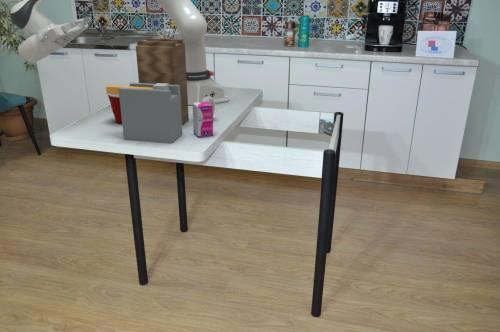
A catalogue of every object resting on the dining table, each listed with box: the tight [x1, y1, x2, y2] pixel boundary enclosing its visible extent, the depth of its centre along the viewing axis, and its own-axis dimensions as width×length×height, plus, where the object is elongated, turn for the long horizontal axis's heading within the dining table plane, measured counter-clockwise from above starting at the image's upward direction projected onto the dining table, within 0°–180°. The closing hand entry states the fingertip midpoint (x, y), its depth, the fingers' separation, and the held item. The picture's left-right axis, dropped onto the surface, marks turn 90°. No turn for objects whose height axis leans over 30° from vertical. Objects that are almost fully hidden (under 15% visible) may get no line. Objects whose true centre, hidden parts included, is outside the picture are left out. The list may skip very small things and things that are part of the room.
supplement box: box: [192, 102, 214, 139], centre depth 170 cm, size 6×6×12 cm
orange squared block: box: [105, 83, 169, 95], centre depth 164 cm, size 22×4×4 cm, turn 76°
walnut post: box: [135, 37, 190, 127], centre depth 178 cm, size 14×12×32 cm
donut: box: [201, 96, 216, 116], centre depth 185 cm, size 10×3×10 cm, turn 161°
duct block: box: [119, 82, 184, 144], centre depth 166 cm, size 18×10×18 cm, turn 76°
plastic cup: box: [106, 92, 122, 125], centre depth 185 cm, size 11×11×12 cm
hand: (82, 20), depth 170 cm, fingers open, 8 cm apart
